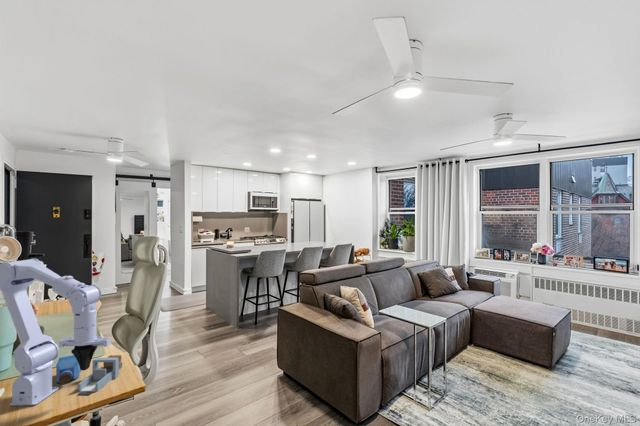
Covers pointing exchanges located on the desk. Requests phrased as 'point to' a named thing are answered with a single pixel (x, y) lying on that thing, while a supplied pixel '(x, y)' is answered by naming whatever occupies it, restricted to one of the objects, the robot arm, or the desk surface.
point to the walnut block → (110, 364)
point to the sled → (101, 373)
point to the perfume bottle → (67, 369)
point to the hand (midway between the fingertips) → (85, 368)
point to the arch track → (89, 386)
